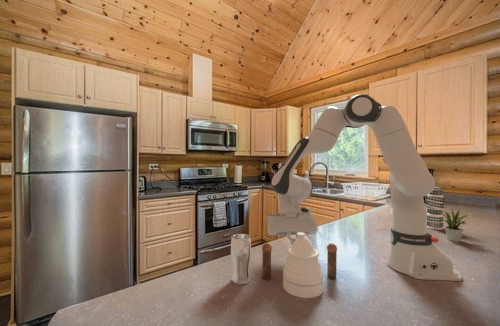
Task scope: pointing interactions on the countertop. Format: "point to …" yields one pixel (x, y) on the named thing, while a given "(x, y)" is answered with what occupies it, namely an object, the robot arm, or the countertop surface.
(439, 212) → the decorative candle
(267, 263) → the post
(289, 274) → the honey pot
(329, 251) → the post
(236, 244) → the beer glass
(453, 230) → the house plant
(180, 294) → the countertop surface
